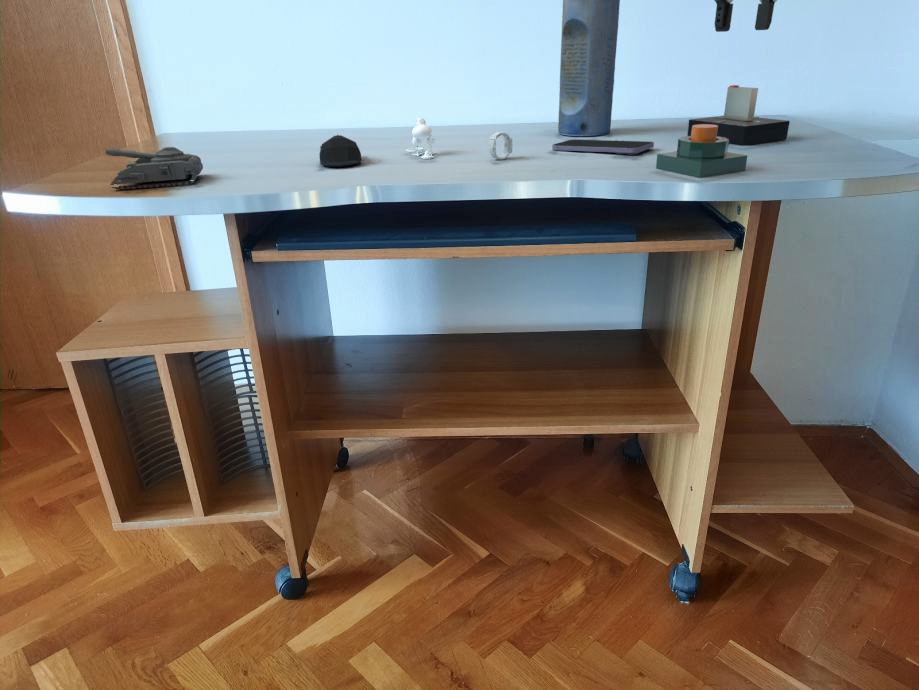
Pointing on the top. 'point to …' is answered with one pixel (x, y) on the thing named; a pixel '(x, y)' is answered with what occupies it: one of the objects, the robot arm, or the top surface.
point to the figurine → (422, 138)
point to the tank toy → (157, 168)
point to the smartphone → (604, 146)
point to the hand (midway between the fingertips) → (742, 30)
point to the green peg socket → (701, 158)
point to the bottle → (587, 66)
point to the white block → (740, 103)
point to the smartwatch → (506, 145)
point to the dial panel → (746, 129)
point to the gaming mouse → (339, 152)
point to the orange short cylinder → (704, 132)
